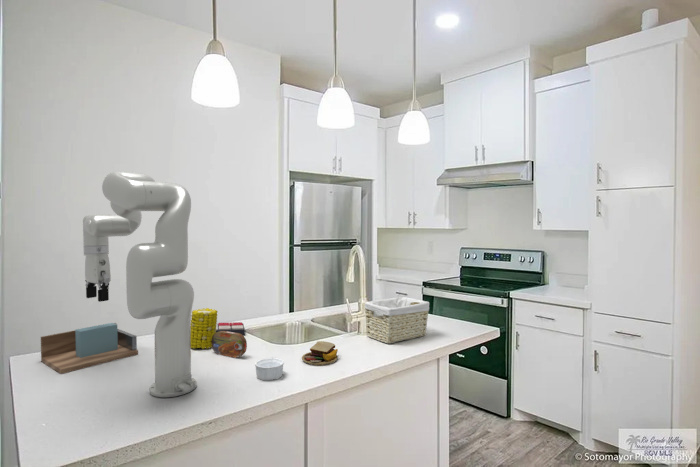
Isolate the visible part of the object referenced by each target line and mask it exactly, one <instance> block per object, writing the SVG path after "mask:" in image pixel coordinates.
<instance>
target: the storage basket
mask: <svg viewBox="0 0 700 467" xmlns="http://www.w3.org/2000/svg"><path fill="white" fill-rule="evenodd" d="M429 311H430V302H429V301H425V300H422V299H418V298H412V297H407V296H404V297H403V296H401V297H399V296H397V297H392V298H391V297H390V298H384V299H377V300H370V301H366V302H365V303H364V313H365V324H366V325H365V326H366V328H365V330H366V331H365V332H366V336H367V337H368V338H370V339H373V340H377V341H378V342H382V343H385V344H393V343H398V342H402V341H405V340H406V341H408V340H413V339H416V338H420V337H424V336H426V333H427V325H428V316H429Z"/></svg>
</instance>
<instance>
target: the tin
mask: <svg viewBox="0 0 700 467" xmlns="http://www.w3.org/2000/svg"><path fill="white" fill-rule="evenodd" d="M247 342H248V341H247V338H246V337H245V336H243V335H242V334H240V333H234V332H227V331H220V332H216V333H215V334H214V335H213V337H212V340H211V345H212V347H211V348H212V350H213V352H214V353H215V354H217V355H219V356H223V357H228V358H233V359H236V358H239V357H241V356H243V355H244V354H246V351H247V349H248V348H247V347H248V343H247Z"/></svg>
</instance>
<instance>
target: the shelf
mask: <svg viewBox="0 0 700 467" xmlns="http://www.w3.org/2000/svg"><path fill="white" fill-rule="evenodd" d="M113 323H114V324H117V323H116V322H113ZM75 330H76V329H75ZM75 330H70V331H64V332H59V333H53V334H48V335H43V336H40V358H41V360H40V361H41V362H42V364H44V365H45V366H48V367H49V368H50V369H52V370H53V371H55V372H57V373H59V374H60V375H63V374H67V373H71V372H74V371H79V370H82V369H85V368H89V367H93V366H97V365H102V364H105V363H110V362H113V361H116V360H121V359H124V358H125V359H126V358H129V357H133V356H137V355H139V350H138V349H137V348H138V345H137V340H138V339H137V338H138V337H137V335H135V334H133V333H130V332H127V331H124V330H122V329H119V328H117V335H118V349H116V350H112V351H108V352H104V353H99V354H95V355H91V356H87V357H83V358H80V357H78V356H76V336H75Z"/></svg>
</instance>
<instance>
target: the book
mask: <svg viewBox="0 0 700 467" xmlns="http://www.w3.org/2000/svg"><path fill="white" fill-rule="evenodd" d="M114 323H115V322H109V323H104V324H98V325H93V326H88V327H82V328H78V329H75V336H76V356H78V357H80V358H83V357H87V356H91V355H95V354H99V353H104V352H108V351H112V350H116V349H118V335H117V329H118V324H117V323H116V324H114Z"/></svg>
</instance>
